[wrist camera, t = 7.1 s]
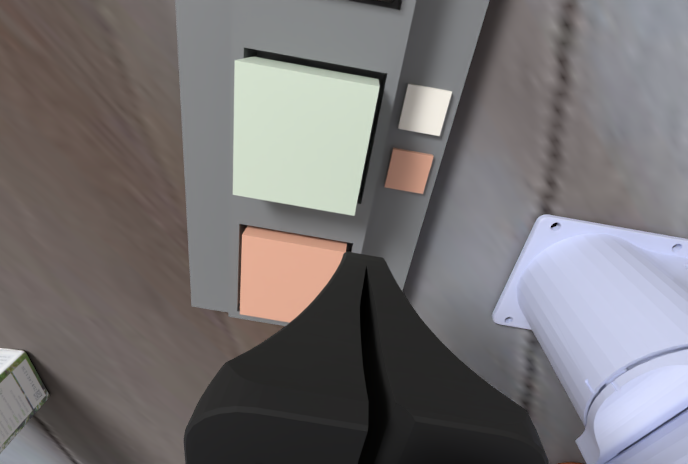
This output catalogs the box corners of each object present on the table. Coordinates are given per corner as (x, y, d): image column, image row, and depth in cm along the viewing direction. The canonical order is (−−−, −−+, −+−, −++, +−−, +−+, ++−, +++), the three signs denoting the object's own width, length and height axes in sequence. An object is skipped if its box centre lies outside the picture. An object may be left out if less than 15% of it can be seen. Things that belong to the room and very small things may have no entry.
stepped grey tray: (545, -225, 13) (600, -305, 10) (386, 323, 25) (389, 363, 22) (179, -298, 13) (118, -404, 10) (201, 292, 25) (177, 327, 22)
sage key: (378, 78, 15) (379, 86, 13) (356, 193, 18) (354, 215, 15) (254, 56, 15) (234, 60, 13) (249, 174, 18) (232, 194, 15)
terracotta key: (348, 228, 20) (345, 252, 18) (334, 301, 23) (330, 329, 21) (255, 212, 20) (242, 234, 18) (252, 287, 23) (239, 314, 21)
